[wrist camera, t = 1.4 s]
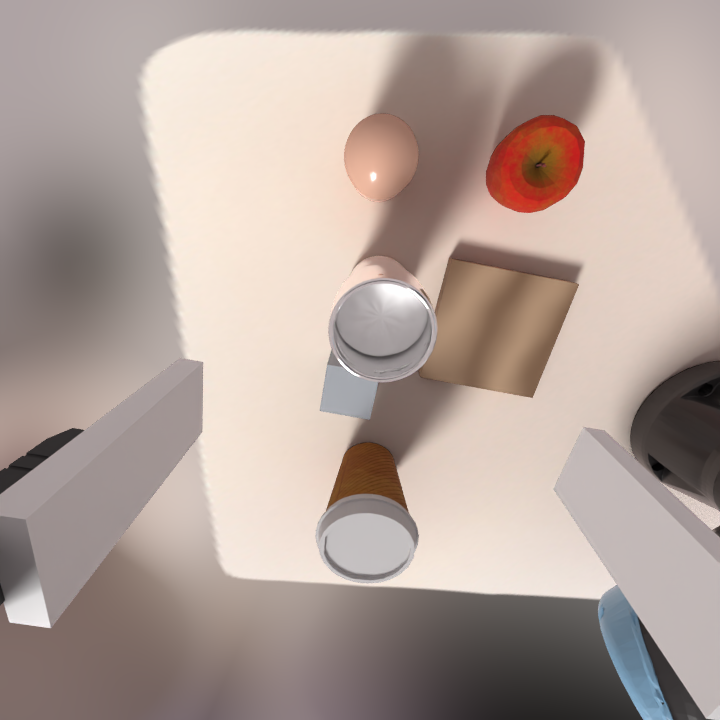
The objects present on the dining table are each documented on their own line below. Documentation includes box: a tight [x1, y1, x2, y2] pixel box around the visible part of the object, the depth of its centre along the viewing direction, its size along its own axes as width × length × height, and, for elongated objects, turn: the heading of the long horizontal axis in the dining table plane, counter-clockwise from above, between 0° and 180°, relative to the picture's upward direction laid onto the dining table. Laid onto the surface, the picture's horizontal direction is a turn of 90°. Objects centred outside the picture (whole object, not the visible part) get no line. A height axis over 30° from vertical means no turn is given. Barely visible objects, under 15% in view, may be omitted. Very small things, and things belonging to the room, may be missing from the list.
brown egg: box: [344, 114, 419, 202], centre depth 28 cm, size 5×5×8 cm
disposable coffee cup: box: [316, 443, 419, 583], centre depth 38 cm, size 10×10×12 cm
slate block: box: [320, 351, 378, 420], centre depth 37 cm, size 5×5×5 cm
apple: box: [486, 115, 585, 213], centre depth 28 cm, size 6×6×8 cm
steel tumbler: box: [328, 256, 438, 382], centre depth 29 cm, size 7×7×15 cm
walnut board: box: [419, 258, 579, 398], centre depth 36 cm, size 12×12×2 cm
